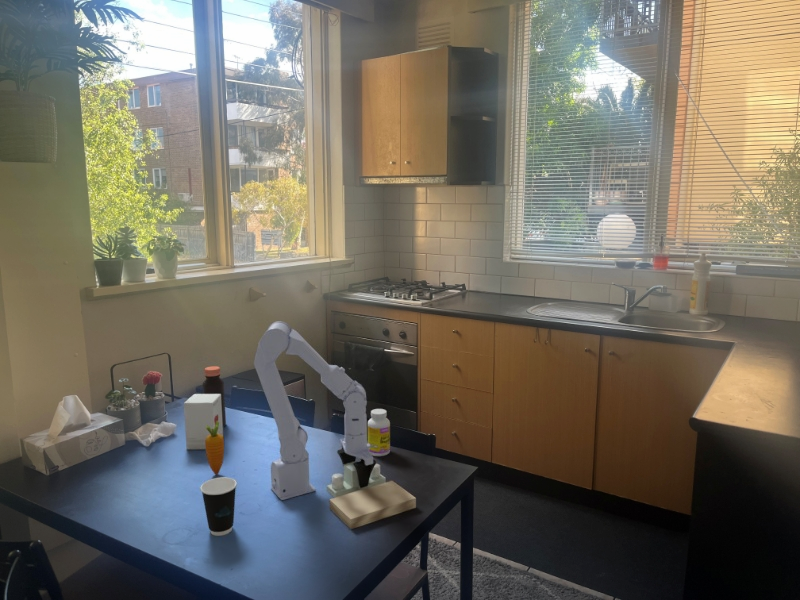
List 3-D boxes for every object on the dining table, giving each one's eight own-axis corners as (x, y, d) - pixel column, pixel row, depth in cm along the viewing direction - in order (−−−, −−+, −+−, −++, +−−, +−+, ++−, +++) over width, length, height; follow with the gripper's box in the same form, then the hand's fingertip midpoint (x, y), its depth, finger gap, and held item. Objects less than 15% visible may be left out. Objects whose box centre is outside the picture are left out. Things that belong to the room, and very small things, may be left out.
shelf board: (350, 529, 136) (350, 519, 136) (329, 508, 145) (329, 499, 145) (415, 507, 146) (415, 498, 145) (392, 489, 155) (392, 480, 154)
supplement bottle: (380, 459, 173) (380, 417, 171) (363, 453, 177) (362, 412, 175) (394, 451, 179) (394, 410, 176) (377, 446, 182) (377, 406, 180)
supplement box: (215, 450, 180) (212, 402, 178) (185, 450, 180) (182, 402, 178) (224, 438, 189) (221, 393, 187) (196, 438, 189) (193, 393, 187)
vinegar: (201, 428, 197) (197, 370, 194) (211, 421, 204) (207, 364, 201) (220, 429, 196) (217, 371, 193) (229, 422, 203) (226, 365, 200)
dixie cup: (224, 542, 131) (221, 496, 129) (195, 535, 134) (192, 489, 132) (246, 524, 138) (244, 480, 137) (218, 518, 141) (215, 474, 139)
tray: (335, 498, 151) (334, 476, 150) (326, 490, 155) (326, 469, 154) (385, 483, 158) (385, 462, 158) (376, 476, 162) (376, 455, 162)
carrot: (208, 480, 161) (205, 427, 158) (205, 472, 165) (202, 421, 163) (227, 476, 163) (224, 424, 161) (224, 469, 167) (221, 418, 165)
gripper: (383, 437, 150) (383, 487, 152) (355, 420, 162) (356, 466, 164) (358, 443, 146) (359, 495, 149) (332, 425, 158) (333, 473, 161)
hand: (356, 480), depth 156 cm, fingers open, 7 cm apart
